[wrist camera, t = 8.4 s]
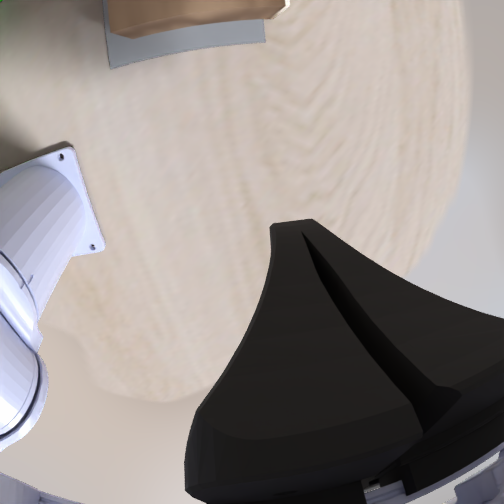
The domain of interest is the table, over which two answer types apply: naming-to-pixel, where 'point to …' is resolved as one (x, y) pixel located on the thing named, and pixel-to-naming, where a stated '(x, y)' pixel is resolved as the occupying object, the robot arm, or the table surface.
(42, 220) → the robot arm
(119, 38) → the mat
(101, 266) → the table surface
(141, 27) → the walnut block
